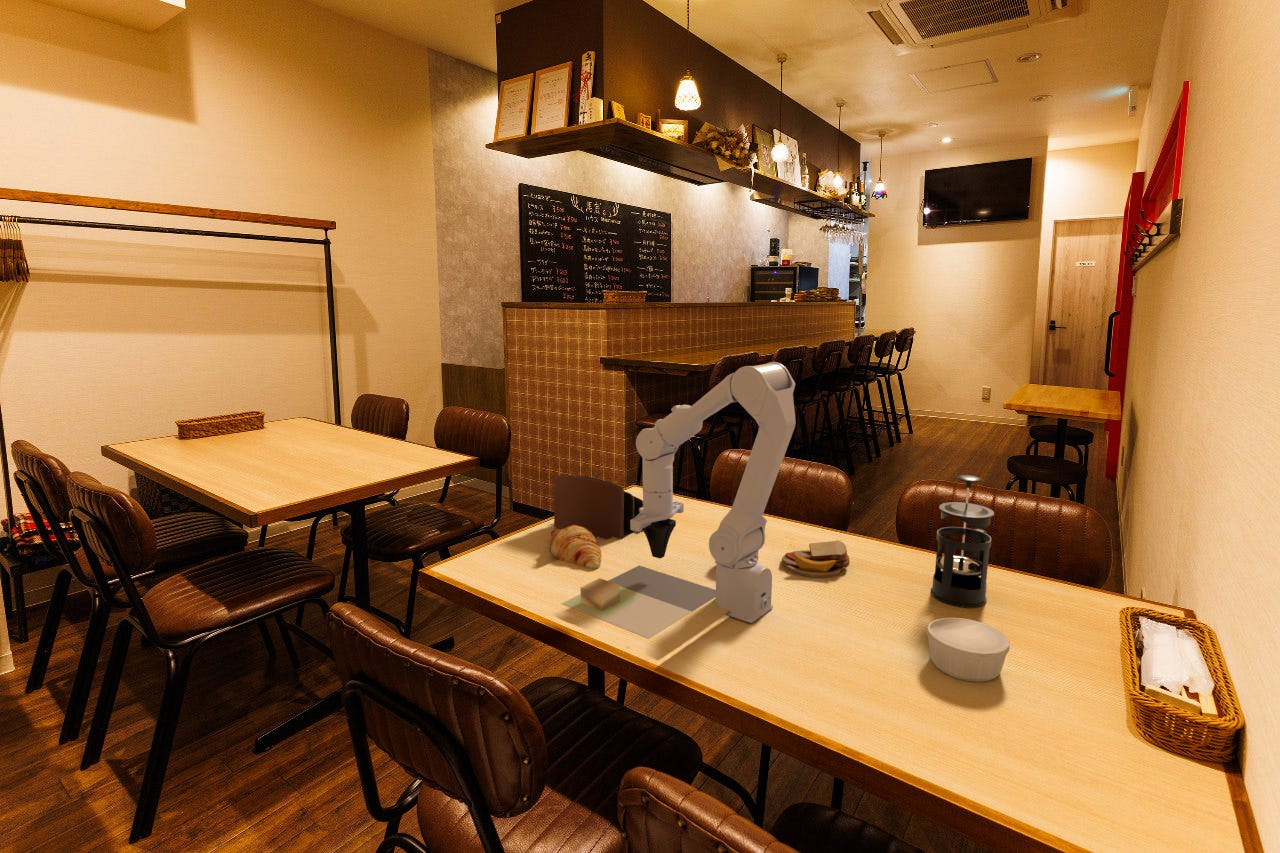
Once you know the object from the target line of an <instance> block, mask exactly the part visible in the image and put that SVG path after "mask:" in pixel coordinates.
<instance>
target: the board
mask: <svg viewBox="0 0 1280 853" xmlns="http://www.w3.org/2000/svg"><path fill="white" fill-rule="evenodd" d="M607 581H609V582H612V583H615V584H618V585H620V601H619V602H617V603H615V604H614V605H612V606H610V607H608V608H606V609H604V610H602V611H600V610H598V609H595V608H593V607H590V606H587V605H585V604H582V603H581V593H580V594H578V595H576V596H574V597H572V598H569V599H568V600H565V601H563V602H561V603H560V604H561V605H563V606H566V607H568V608H571V609H574V610H576V611H578V612H581V613H584V614H586V615H589V616H591V617H593V618H597V619H598V620H601V621H603V622H606V623H608V624H611V625H613V626H616V627H617V628H621V629H624V630H626V631H629V632H631V633H634V634H636V635H638V636H640V637H643V638H645V639H648V640H650V639H651V638H653V637H654V636H656V635H658V634H659V633H661V632H662V631H664V630H666V629H667V628H668V627H670V626H672V625H674V624H675V623H677V622H678V621H680V620H682V619H683V618H685V617H686V616H688V615H689V614H690V613H692V612H694V611H696V610H697V609H699V608H700V607H702V606H704V605H705V604H707V603H709V602H710V601H712V600H713V599H716V588H715V589H714V588H712V587H708V586H705V585H701V584H699V583H695V582H692V581H688V580H687V579H686V580H685V579H683V578H680V577H677V576H673V575H669V574H667V573H664V572H662V571H658V570H655V569H653V568H652V569H651V568H648V567H645V566H642V565H637V566H635V567H633V568H631V569H629V570H627V571H625V572H622V573H621V574H619V575H617V576H615V577H612V578H610V579H608V580H607Z"/></svg>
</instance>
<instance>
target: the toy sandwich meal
mask: <svg viewBox="0 0 1280 853" xmlns="http://www.w3.org/2000/svg"><path fill="white" fill-rule="evenodd" d="M808 545H809V550H806V549H805V550H803V549H801V550H794V551H789V552H785V554H784V555H783V556H782V557H781V562H782V564H783V565H784V566H785V567H786V568H787V570H789V571H791V572H792V573H795V574H797V575H801V576H806V577H813V578H826V577H832V576H835V575H838V573H840V572H841V571H842V570H843V569H844V568H848V567H849V565H850V556H849V554H848V553H847V552H848V550H847V546H846V544H845V543H844V542H843V541H842V540H839V539H838V540H833V541H820V542H811V543H809V544H808Z"/></svg>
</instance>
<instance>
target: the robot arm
mask: <svg viewBox="0 0 1280 853" xmlns="http://www.w3.org/2000/svg"><path fill="white" fill-rule="evenodd" d="M795 387H796V381H795V380H794V379H793V377H792V375H791V373H790V372H789V370H788V369H787V367H786V365H785V366H784V365H783V364H782V363H780V362H776V361H770V362H767V363H764V364H759V365H745V366H741V367H740V368H738V369H737V370H735V372H732V373H730V374H728V375H727V376H725V378H723V379H722V380H721V381H720V382H718V384H717V385H715V386H714V387H713V388H711V389H710V390H709V391H708V392H707V393H706V394H705V395H703V396H702V397H701V398H699V399H698V400H697V401H696V402H695V403H693V404H692V405H689V404H682V405H681V404H678V405H674V406H673V407H672V408H671V409H670V410H671V413H669V414H668V415H667V416H665V417H664V418H663V419H662V418H660V419H657V420H656V421H655V422H654V423H655V425H654V427H651V428H650V427H649V428H647V427H646V428H643V429H641V431H640V432H639V433H638V435H637V436H636V440H635V447H636V451H637V453H638V454H639V456H640V457H641V458H642V501H643V507H642V508H640V509H639V512H640V513H639V514H638V515H637V516H636V517H635V518H634V519H632V520H630V530H633V531H637V532H640V531H642V530H643V531H642V533H644V535H645V536H646V539H647V542H648V545H649V550H650V553H651V557H653V558H656V559H662V558H664V557H665V556H666V552H667V547H668V545H669V544H668V543H669V540H670V537H671V535H672V533H673V531H674V529H675V527H676V525H677V522H676V521H677V520H675V519H671V518H673V517H674V516H675V515H676V514H682V513H684V507H685V506H684V502H681V501H676V500H675V501H673V500H674V494H673V493H674V492H673V491H674V489H673V486H674V485H673V484H674V483H673V482H674V480H673V479H674V476H673V474H674V472H673V471H674V469H673V468H674V467H673V465H674V464H673V463H674V461H675V455H676V452H677V451H678V450H679V447H680V446H681V445H683V444H684V443H685V442H687V441H688V440H690V439H691V438H693V436H696V434H698V433H699V432H701V430H702V428H703V424H704V423H703V422H704V421H705V420H707V419H708V418H709V417H711V416H713V415H714V414H716V413H717V412H719V411H720V410H722V409H723V408H725V407H727V406H728V405H730V404H731V403H737V402H738V403H739V404H740V406H742V408H743V409H745V411H746V412H747V413H748V414H749V415H750V416H751V417H752V418H753V419H754V420H755V422H756V423H757V425H758V431H757V434H756V436H755V440H754V443H753V446H752V447H751V452H750V454H749V456H748V460H747V463H746V466H745V469H744V471H743V474H742V478H741V481H740V482H739V487H738V489H737V492H736V495H735V499H734V500H733V504H732V505H731V506H732V507H731V509H730V510H729V511H728V512H727V513H726V515H725V516H724V517H723V518H722V519H721V521H720V523H719V526H718V527H717V530H715V531H714V532H713V533H712V534H711V535H710V537H709V539H708V540H709V541H708V549H709V552H710V555H711V556H712V558H713V559H714V563H715V565H716V566H715V567H716V568H715V571H716V572H715V590H716V597H715V604H716V605H717V606H718V607H719V608H721V609H723V610H726V611H727V612H726V613H725V614H724V615H726V616H728V617H731V618H735V619H738V620H740V621H743V622H746V623H749V624H753V623H754V622H756V620H758V619H760V618H761V617H762V616H763V615H765V614H766V613H768V612H769V611H770V610H771V609H773V608H774V605H773V604H772V594H773V593H772V592H773V591H772V589H773V588H772V587H773V575H772V570H770V569H769V568H768V567H767V566H764V565H763V564H761V563H760V562H759V550H761V549H762V548H763V546H764V545H765V542H766V533H765V531H766V530H765V529H766V525H767V523H768V521H767V519H766V517H765V516H764V512H765V509H766V507H767V505H768V502H769V498H770V496H771V493H772V491H773V487H774V486H775V483H776V480H777V477H778V474H779V472H780V469H781V466H782V463H783V461H784V458H785V454H786V453H787V449H788V446H789V444H790V441H791V439H792V436H793V433H794V431H795V428H796V412H795V404H794V401H795V400H794V392H795Z"/></svg>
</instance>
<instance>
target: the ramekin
mask: <svg viewBox="0 0 1280 853" xmlns="http://www.w3.org/2000/svg"><path fill="white" fill-rule="evenodd" d="M926 635H927V637H928V648H929V656H930V659H931V661H932V662H933V664H934V665H935V667H936V668H937V669H938V670H940V671H942V672H943V673H944V674H946V675H948V676H951V677H953V678H954V679H958V680H961V679H962V681H966V682H973V683H974V682H975V683H977V682H978V683H979V682H981V683H982V682H989V681H992V680H994V679H995V678H997V677H998V676H999V675H1000V674H1001V672H1002V670H1003V667H1004V664H1005V660H1006V657H1007V655H1008V654H1009V652H1010V644H1011V643H1010V641H1009V638H1008V637H1007V635H1005V634H1004V633H1003V632H1002V631H1001V630H999V629H997V628H995V627H993V626H992V625H989V624H987V623H983V622H981V621H977V620H974V619H970V618H962V617H942V618H937V619H934V620H931V621H930V622H929V624H928V625H927V628H926Z"/></svg>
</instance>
